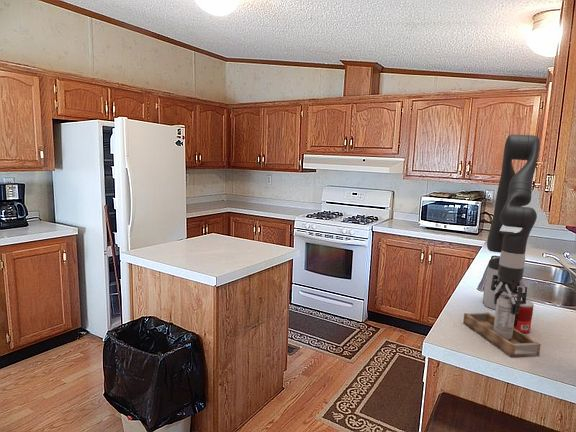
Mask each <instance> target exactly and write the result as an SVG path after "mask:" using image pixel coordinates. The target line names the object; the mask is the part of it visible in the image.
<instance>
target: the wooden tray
mask: <svg viewBox="0 0 576 432" xmlns="http://www.w3.org/2000/svg"><path fill="white" fill-rule="evenodd" d="M462 320H463V324H464V325H465V326H466V327H468V328H469V329H471V330H472V331H473V332H475V333H476V334H477V335H479V336H480V337H481V338H483V339H485V340H486V341H488V342H489V343H490V344H491V345H493V346H494V347H496V348H497V349H498V350H500V351H501V352H503V353H504V354H506V355H507V356H508V357H510V358H522V357H523V358H524V357H539V356H540V353H541V345H542V344H541V343H540V342H538V341H536V340H534V339H533V338H531V337H530V336H528V335H526V333H525V334H523V333H521V332H520V331H518V330H516V329H515V328H513V335H512V338H511V339H510V340H509V341H508V340H507V339H505V338H503V337H502V336H500V335H499V334H497V333H496V332H494V331H493V328H494V320H495V315H493V314H492V313H490V312H471V313H469V312H468V313H466V312H464V313H463V319H462Z"/></svg>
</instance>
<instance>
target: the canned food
mask: <svg viewBox="0 0 576 432" xmlns="http://www.w3.org/2000/svg"><path fill="white" fill-rule="evenodd" d="M515 300H516V301H517V299H516V298H515ZM521 301H522V298H521ZM534 306H535V305H534V303H533V302H532V301H530V300H528V299H526V304H521V305H520V308H519V313H518V314H517V315H515V320H514V327H513V328H515V329H516V330H518V331H520V332H521V333H523V334H525V335H526V334H529V333H530V331H531V328H532V327H531V326H532V319H533V313H534Z"/></svg>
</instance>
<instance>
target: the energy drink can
mask: <svg viewBox="0 0 576 432" xmlns="http://www.w3.org/2000/svg"><path fill="white" fill-rule="evenodd" d="M512 304H513V302H512V299H511V298H510V297H509V296H508V295H500V296H499V298H498V299H497V304H496V310H495V314H494V316H495V320H494V328H493V331H494V332H496V333H497V334H499V335H500V336H502V337H503V338H505V339H507V340H508V341H509V340H510V339H511V338H512V335H513V327H514V320H515V315H513V314H511V309H512Z"/></svg>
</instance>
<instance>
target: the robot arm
mask: <svg viewBox="0 0 576 432" xmlns="http://www.w3.org/2000/svg"><path fill="white" fill-rule="evenodd" d="M540 143H541V142H540V138H539V137H538V135H534V134H509V135H508V136H507V137H506V140H505V142H504V148H503V149H504V150H503V158H502V165H501V172H500V173H501V174H500V179H499V183H498V187H497V192H496V196H495V201H494V202H495V203H494V209H493V215H492V220H491V224H490V229H489V233H488V237H487V240H486V247H487V250H488V251H489V252H493V253H500V255H499V257H497V258H491V259H489V261H488V265H487V274H486V281H485V282H484V286H483V295H482V296H483V297H482V303H483V306H484V307H486V308H488V307H489V308H488V309H492V310H495V311H496V304H497V299H498V298H499V296H500V295H508V296H509V297H510V298H511V299H512V302H513V304H512V309H511V314H513V315H517V314H518V313H519V308H520V305H521V304H526V300H527V293H528V287H527V286H522V285H521V284H520V282H521V281H522V280H523V277H524V271H525V270H524V269H525V265H526V264H525V263H526V249H527V242H528V239H529V236H530V233H531V231H532V229H533V228H534V226H535V224H536V221H537V219H538V218H537V217H538V215H537V214H538V213H537V212H536V210H535V209H534V208H533V207H529V206H527V205H529V204H530V203H531V201H532V193H533V190H532V189H533V181H534V176H535V172H536V168H537V162H538V158H539V153H540V146H541V144H540ZM513 160H516V161H517V160H518V161H526V163H525V164H524V165H523V166H522V167H521V168H520V170H518V171H517V172H515V169H514V166H513ZM526 206H527V207H526ZM503 226H504V227H511V228H519V229H521V230H520V231H518V232H514V231H504V230H501V229H502V227H503ZM515 298H516V299H517V301H516V300H515ZM521 299H522V301H521Z"/></svg>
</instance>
